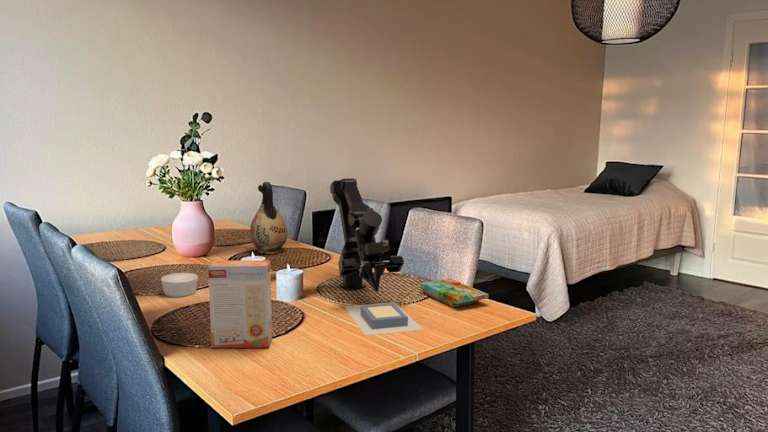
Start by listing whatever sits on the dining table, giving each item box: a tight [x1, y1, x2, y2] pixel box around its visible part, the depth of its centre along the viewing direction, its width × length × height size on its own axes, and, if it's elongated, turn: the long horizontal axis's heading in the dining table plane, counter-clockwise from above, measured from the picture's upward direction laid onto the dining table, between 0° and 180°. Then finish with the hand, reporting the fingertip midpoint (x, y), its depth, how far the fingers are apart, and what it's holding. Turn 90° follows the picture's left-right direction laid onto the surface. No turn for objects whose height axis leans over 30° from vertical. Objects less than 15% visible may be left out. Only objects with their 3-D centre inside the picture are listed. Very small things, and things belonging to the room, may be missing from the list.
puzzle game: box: [419, 278, 489, 308], centre depth 181 cm, size 12×5×20 cm
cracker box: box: [207, 259, 273, 349], centre depth 141 cm, size 14×6×21 cm, turn 92°
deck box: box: [361, 304, 408, 329], centre depth 160 cm, size 2×10×12 cm
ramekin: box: [160, 272, 199, 298], centre depth 184 cm, size 11×11×5 cm
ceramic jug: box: [249, 181, 289, 255], centre depth 238 cm, size 17×15×30 cm
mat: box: [343, 301, 424, 336], centre depth 163 cm, size 24×16×1 cm, turn 17°
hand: (376, 291), depth 166 cm, fingers closed
